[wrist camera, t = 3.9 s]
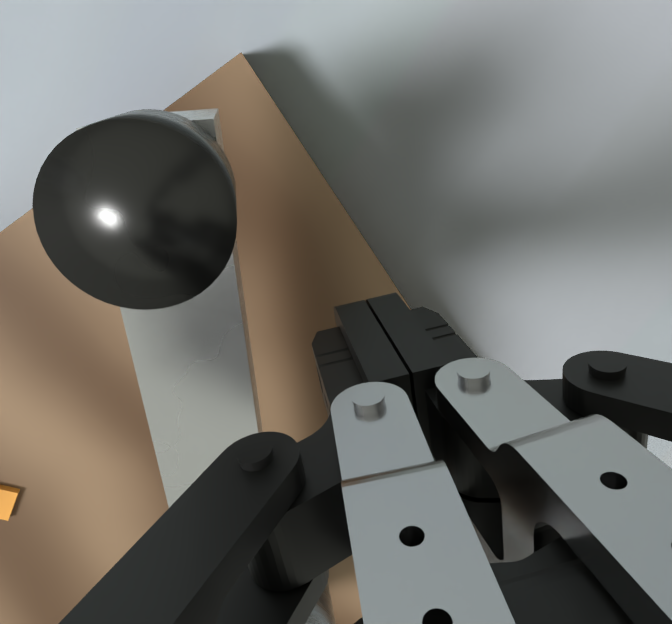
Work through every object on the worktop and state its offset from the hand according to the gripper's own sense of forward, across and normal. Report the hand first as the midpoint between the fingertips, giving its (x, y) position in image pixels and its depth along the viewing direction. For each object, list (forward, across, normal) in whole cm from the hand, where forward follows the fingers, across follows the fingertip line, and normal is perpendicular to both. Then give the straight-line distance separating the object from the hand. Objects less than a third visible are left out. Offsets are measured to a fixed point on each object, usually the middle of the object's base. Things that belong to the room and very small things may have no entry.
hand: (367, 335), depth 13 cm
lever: (+4, +4, +3) cm, 7 cm away
